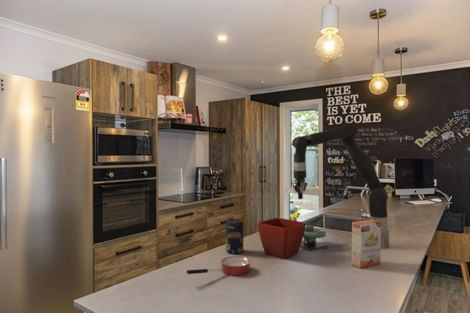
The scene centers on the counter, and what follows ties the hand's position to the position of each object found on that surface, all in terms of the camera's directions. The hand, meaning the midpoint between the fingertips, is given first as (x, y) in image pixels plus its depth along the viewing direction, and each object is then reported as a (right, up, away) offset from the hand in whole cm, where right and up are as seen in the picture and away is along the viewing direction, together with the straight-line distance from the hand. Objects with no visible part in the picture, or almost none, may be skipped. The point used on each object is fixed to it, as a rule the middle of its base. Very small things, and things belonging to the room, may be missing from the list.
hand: (300, 198), depth 185 cm
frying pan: (-46, -27, -50) cm, 73 cm away
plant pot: (-14, -27, -20) cm, 36 cm away
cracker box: (+24, -27, -36) cm, 51 cm away
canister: (-39, -27, -16) cm, 50 cm away
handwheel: (+4, -20, -6) cm, 21 cm away
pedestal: (+4, -27, -6) cm, 27 cm away
